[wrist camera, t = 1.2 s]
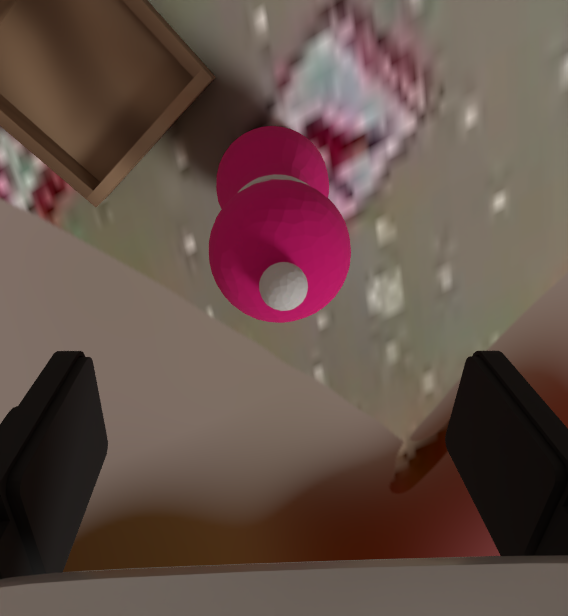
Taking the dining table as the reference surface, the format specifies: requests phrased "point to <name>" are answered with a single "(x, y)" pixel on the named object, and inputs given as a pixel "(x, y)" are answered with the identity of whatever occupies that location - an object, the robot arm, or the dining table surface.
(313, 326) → the dining table surface
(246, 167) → the magenta pepper mill
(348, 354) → the dining table surface
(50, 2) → the walnut tray
